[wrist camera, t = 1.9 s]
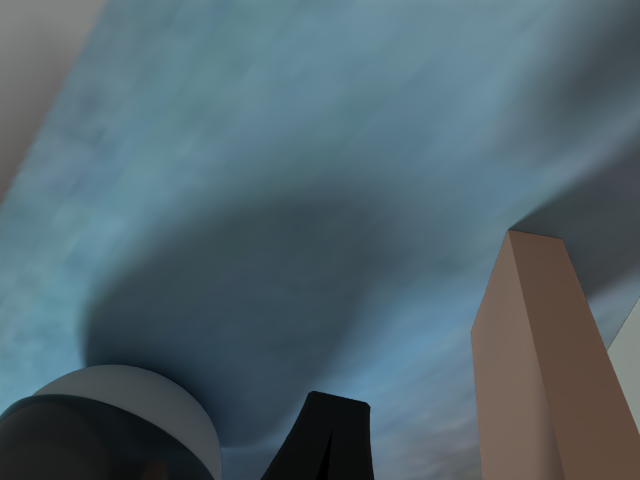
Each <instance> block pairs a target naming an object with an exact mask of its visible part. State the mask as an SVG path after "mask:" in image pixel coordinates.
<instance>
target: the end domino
mask: <svg viewBox="0 0 640 480" xmlns="http://www.w3.org/2000/svg"><path fill="white" fill-rule="evenodd" d="M471 343H472V355H473V367H474V379H475V391H476V404H477V416H478V428H479V440H480V452H481V464H482V477H483V480H640V434H639V431H638V429H637V426H636V424H635V421H634V419H633V416H632V414H631V411H630V409H629V406H628V404H627V401H626V399H625V396H624V394H623V391H622V388H621V386H620V383H619V381H618V378H617V376H616V373H615V371H614V368H613V366H612V363H611V361H610V358H609V356H608V353H607V351H606V348H605V346H604V343H603V341H602V338H601V336H600V333H599V331H598V328H597V325H596V323H595V320H594V318H593V315H592V313H591V310H590V308H589V305H588V303H587V300H586V298H585V295H584V293H583V290H582V288H581V285H580V283H579V280H578V278H577V275H576V273H575V270H574V268H573V265H572V263H571V260H570V257H569V255H568V252H567V250H566V247H565V245H564V242H563V240H562V239H560V238H554V237H548V236H542V235H536V234H531V233H525V232H519V231H513V230H507V233H506V236H505V239H504V241H503V244H502V247H501V250H500V253H499V255H498V258H497V261H496V264H495V266H494V269H493V272H492V275H491V277H490V280H489V283H488V286H487V289H486V291H485V294H484V297H483V300H482V302H481V305H480V308H479V311H478V313H477V316H476V319H475V322H474V325H473V327H472V330H471Z"/></svg>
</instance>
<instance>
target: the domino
mask: <svg viewBox="0 0 640 480" xmlns="http://www.w3.org/2000/svg"><path fill="white" fill-rule="evenodd" d="M607 353H608V356H609V358H610V361H611V363H612V366H613V368H614V371H615V373H616V376H617V378H618V381H619V383H620V386H621V388H622V391H623V394H624V396H625V399H626V401H627V404H628V406H629V409H630V411H631V414H632V416H633V419H634V421H635V424H636V426H637V429H638V431H639V434H640V298H639V299H638V301H637V303H636V304H635V306H634V308H633V309H632V311H631V313H630V314H629V316H628V318H627V319H626V321H625V323H624V324H623V326H622V328H621V329H620V331H619V333H618V334H617V336H616V338H615V339H614V341H613V343H612V344H611V346H610V348H609V349H608V351H607Z"/></svg>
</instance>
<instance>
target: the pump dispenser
mask: <svg viewBox="0 0 640 480" xmlns="http://www.w3.org/2000/svg"><path fill="white" fill-rule="evenodd" d="M221 479H222V455H221V448H220V443H219V439H218V436H217V433H216V430H215V428H214V426H213V423H212V421H211V419H210V418H209V416H208V414H207V413H206V411H205V410H204V409H203V407H202V406H201V405H200V404H199V403H198V401H197V400H196V399H195V398H194V397H193V396H192V395H191V394H189V393H188V392H187V391H186V390H185V389H183V388H182V387H180V386H179V385H178V384H176V383H175V382H173V381H171V380H169V379H168V378H166V377H164V376H161V375H159V374H157V373H154V372H152V371H149V370H146V369H142V368H138V367H133V366H127V365H98V366H92V367H87V368H83V369H80V370H76V371H74V372H71V373H69V374H66V375H64V376H62V377H60V378H58V379H56V380H54V381H52V382H51V383H49V384H47V385H46V386H44V387H43V388H41V389H40V390H38V391H37V392H36V393H34V394H33V395H32V396H29V397H26V398H23V399H21V400H18V401H16V402H15V403H13V404H12V405H10V406H9V407H8V408H7V409H6V410H5V411H4V412H3V413H2V414H1V415H0V480H221Z"/></svg>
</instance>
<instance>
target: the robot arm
mask: <svg viewBox="0 0 640 480" xmlns="http://www.w3.org/2000/svg"><path fill="white" fill-rule="evenodd" d="M261 480H374V474H373V466H372V456H371V444H370V406H369V405H368V404H367V403H366V402H362V401H358V400H353V399H349V398H344V397H340V396H335V395H331V394H326V393H322V392H317V391H312V392H310V393H308V396H307V398H306V401H305V403H304V405H303V408H302V410H301V412H300V414H299V416H298V418H297V420H296V422H295V424H294V426H293V427H292V429H291V431H290V433H289V434H288V436H287V438H286V440H285V441H284V443H283V445H282V447H281V448H280V450H279V451H278V453H277V455H276V456H275V458H274V459H273V461H272V462H271V464H270V466H269V467H268V469H267V470H266V472H265V474H264V475H263V477H262V478H261Z"/></svg>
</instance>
